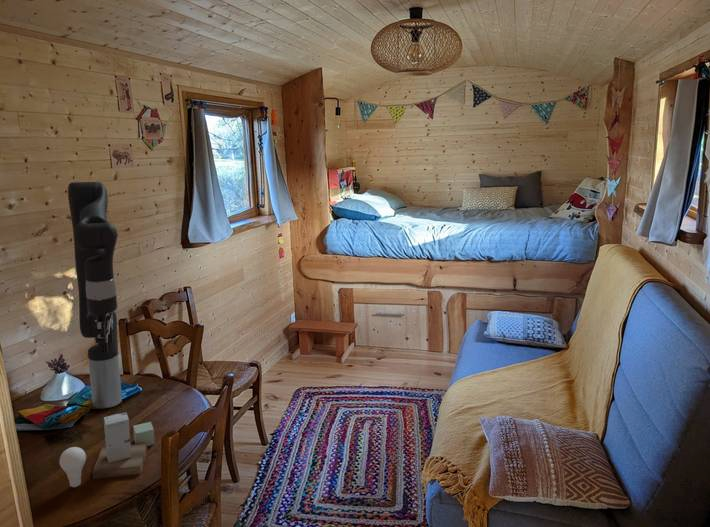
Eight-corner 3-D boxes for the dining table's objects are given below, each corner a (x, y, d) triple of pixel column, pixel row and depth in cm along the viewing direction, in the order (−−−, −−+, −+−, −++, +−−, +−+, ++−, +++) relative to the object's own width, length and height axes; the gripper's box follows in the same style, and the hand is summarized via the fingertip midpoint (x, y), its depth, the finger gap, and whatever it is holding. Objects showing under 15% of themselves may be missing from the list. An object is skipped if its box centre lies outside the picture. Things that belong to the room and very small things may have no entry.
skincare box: (108, 463, 147) (104, 425, 143) (106, 454, 150) (102, 417, 147) (132, 457, 150) (129, 419, 146) (129, 448, 153) (126, 411, 150)
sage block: (134, 440, 162) (133, 425, 161) (151, 436, 165) (150, 421, 164) (137, 448, 158) (135, 433, 157) (154, 444, 161) (153, 429, 160)
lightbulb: (68, 479, 143) (64, 442, 141) (92, 478, 144) (88, 442, 141) (58, 494, 137) (53, 455, 135) (83, 493, 138) (79, 455, 135)
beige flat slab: (103, 455, 155) (102, 446, 155) (147, 451, 158) (146, 442, 157) (93, 481, 144) (92, 471, 143) (140, 476, 146) (140, 466, 146)
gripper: (91, 287, 155) (96, 339, 159) (81, 303, 141) (87, 359, 146) (119, 286, 157) (124, 337, 161) (112, 301, 143) (117, 357, 148)
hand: (106, 348), depth 153 cm, fingers open, 8 cm apart
